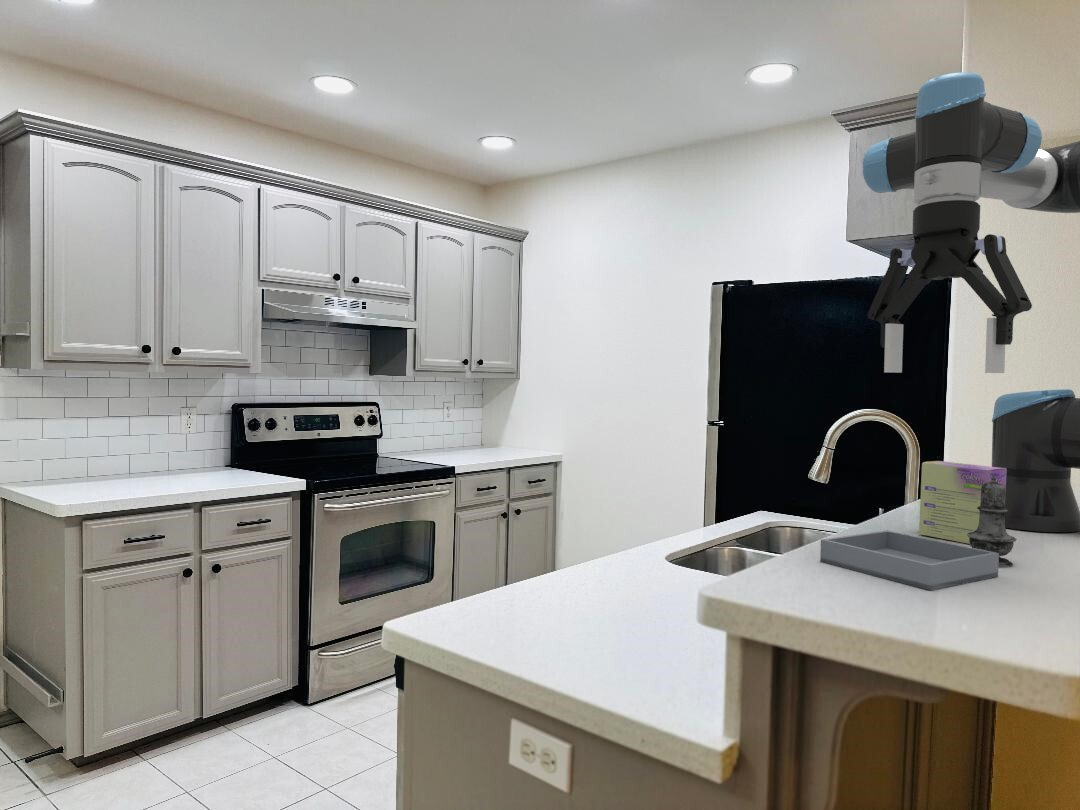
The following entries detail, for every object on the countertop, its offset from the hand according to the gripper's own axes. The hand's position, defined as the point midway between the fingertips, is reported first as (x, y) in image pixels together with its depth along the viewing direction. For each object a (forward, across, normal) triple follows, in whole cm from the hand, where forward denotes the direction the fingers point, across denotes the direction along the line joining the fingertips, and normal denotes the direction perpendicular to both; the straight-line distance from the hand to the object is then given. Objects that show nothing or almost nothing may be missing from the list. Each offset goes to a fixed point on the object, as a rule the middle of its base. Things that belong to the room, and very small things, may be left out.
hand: (940, 373), depth 98 cm
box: (+26, -11, +24) cm, 37 cm away
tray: (+26, -3, -1) cm, 26 cm away
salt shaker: (+26, 0, +13) cm, 29 cm away
